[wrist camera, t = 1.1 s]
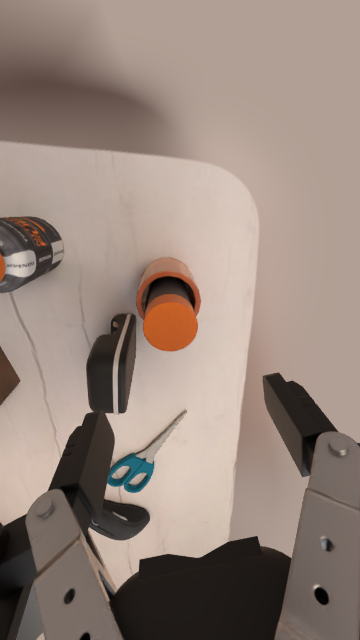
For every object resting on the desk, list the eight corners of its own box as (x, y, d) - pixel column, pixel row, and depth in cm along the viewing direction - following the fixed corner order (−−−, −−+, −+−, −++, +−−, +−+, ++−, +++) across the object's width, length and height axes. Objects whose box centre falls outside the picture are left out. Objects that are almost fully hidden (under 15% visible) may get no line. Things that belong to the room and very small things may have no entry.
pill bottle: (72, 233, 28) (19, 248, 17) (55, 280, 30) (-1, 318, 19) (15, 205, 26) (-79, 203, 16) (2, 256, 28) (-89, 284, 18)
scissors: (102, 482, 43) (168, 404, 37) (103, 477, 44) (168, 399, 38) (136, 495, 45) (204, 421, 39) (137, 489, 46) (203, 417, 40)
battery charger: (106, 310, 32) (79, 360, 21) (136, 312, 32) (125, 362, 22) (107, 357, 34) (84, 422, 24) (135, 358, 35) (125, 423, 24)
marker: (145, 271, 29) (136, 309, 18) (180, 263, 29) (192, 296, 18) (154, 304, 31) (150, 356, 20) (187, 297, 31) (202, 345, 20)
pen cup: (135, 264, 30) (128, 279, 23) (186, 252, 29) (193, 264, 23) (149, 311, 32) (145, 337, 26) (196, 301, 32) (205, 324, 26)
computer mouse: (126, 542, 53) (123, 567, 49) (44, 521, 48) (34, 547, 44) (155, 510, 49) (155, 534, 45) (70, 484, 44) (61, 508, 41)
